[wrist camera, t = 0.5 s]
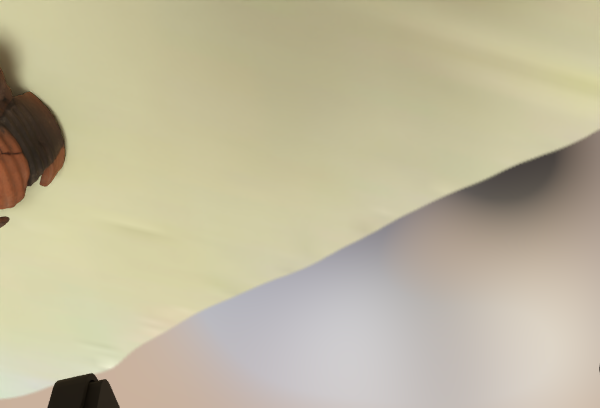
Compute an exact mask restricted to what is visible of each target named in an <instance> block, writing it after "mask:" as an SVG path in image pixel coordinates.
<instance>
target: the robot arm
mask: <svg viewBox="0 0 600 408" xmlns="http://www.w3.org/2000/svg"><path fill="white" fill-rule="evenodd" d="M599 370H600V367H599ZM48 408H120V407H119V405H118V402H117V400H116V398H115V396H114V393H113V391H112V389H111V386H110V384H109V382H108V381H107V380H106V379H104V380H99V381H98V380H97V378H96V376H95V375H94V374H93V373H91V374H86V375H81V376H77V377H72V378H68V379H63V380H59V381H57V382H56V383H55V385H54V387H53V390H52V394H51V397H50V401H49V405H48Z"/></svg>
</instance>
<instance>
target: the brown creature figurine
mask: <svg viewBox="0 0 600 408" xmlns="http://www.w3.org/2000/svg"><path fill="white" fill-rule="evenodd" d="M64 159H65V148H64V141H63V137H62V135H61V131H60V128H59V126H58V124H57V123H56V121H55V118H54V116H53V115H52V114H51V112H50V110H49V109H48V108H47V107H46V106H45V105H44V104H43V103H42V102H41V101H40V100H39V99H38V98H37V97H36V96H35V95H34V94H32V93H31V92H26V93H24V94H23V95H17V96H12V91H11V89H10V87H9V86H8V85H7V84H6V81H5V77H4V74H3V72H2V70H1V68H0V209H5V208H12V207H14V206H15V205H16V204H17V203H18V202H20V201H21V200H22V199H23V198H24V196H25V191H26V187H27V186H31V185H32V184H33V183H34V182H36V181H37V180H38V178H39V176H40V175H42V176H41V180H40V185H42V186H44V187H45V186H48V185H49V184H50V183H51V182H52V180H53V179H54V177H55V176H56V174H57V172H58V171H59V170H60V169H61V168H62V166H63V163H64ZM8 221H9V218H8V217H0V228H1V227H2V226H4V225H5V224H6V223H7V222H8Z"/></svg>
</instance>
